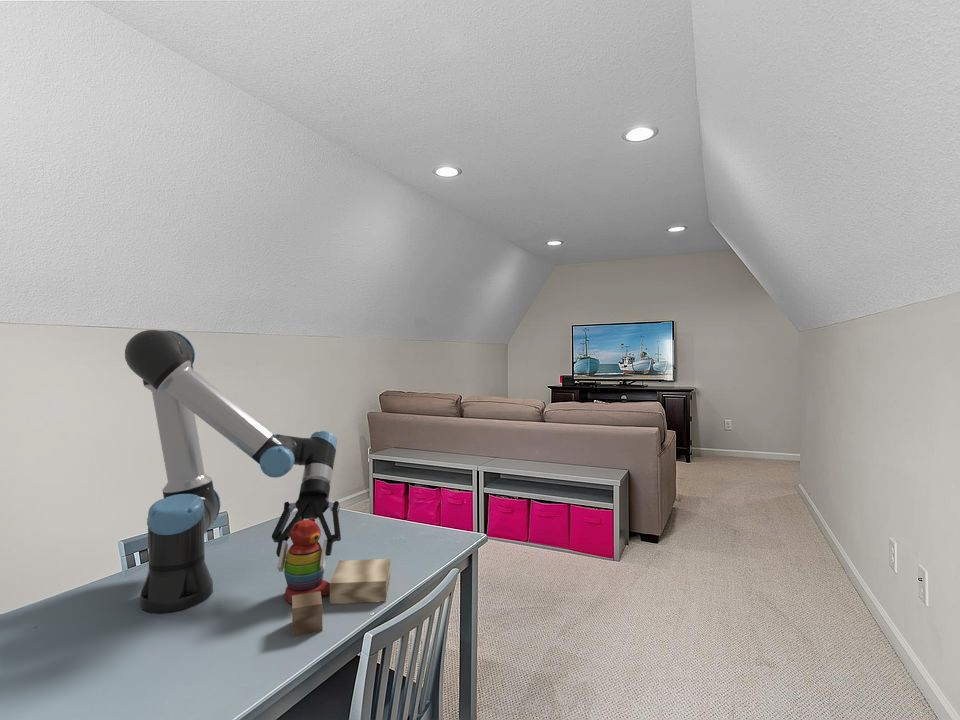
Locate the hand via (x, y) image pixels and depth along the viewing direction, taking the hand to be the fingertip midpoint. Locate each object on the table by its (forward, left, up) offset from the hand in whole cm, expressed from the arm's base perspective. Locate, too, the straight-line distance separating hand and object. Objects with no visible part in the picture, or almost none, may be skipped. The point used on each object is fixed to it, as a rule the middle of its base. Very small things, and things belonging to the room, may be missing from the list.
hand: (301, 568), depth 125 cm
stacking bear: (0, +3, -7) cm, 8 cm away
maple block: (+14, +4, -8) cm, 16 cm away
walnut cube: (+4, -12, -8) cm, 15 cm away
